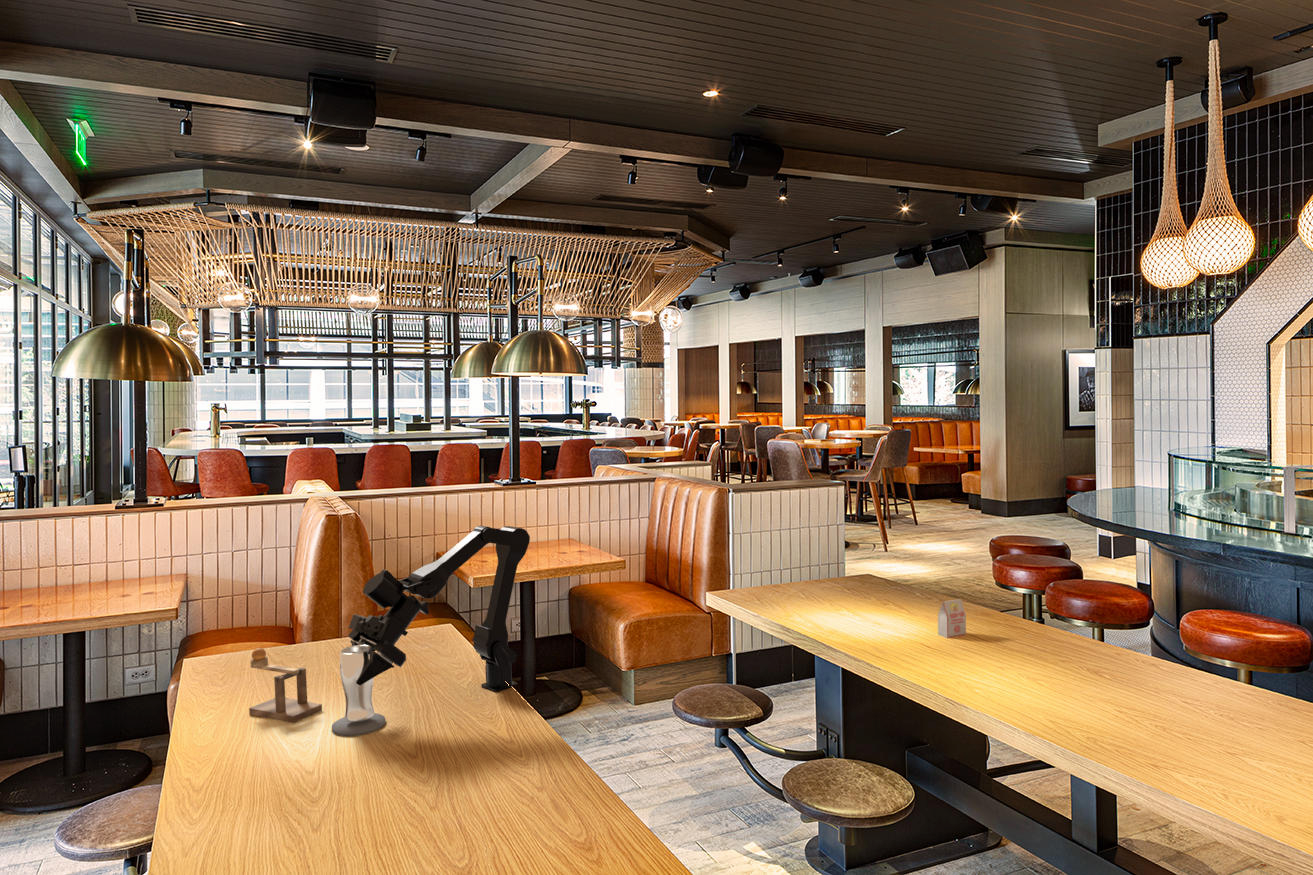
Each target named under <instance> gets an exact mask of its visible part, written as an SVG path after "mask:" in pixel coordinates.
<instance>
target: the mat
mask: <svg viewBox="0 0 1313 875" xmlns="http://www.w3.org/2000/svg"><path fill="white" fill-rule="evenodd" d="M385 725H386V717H385V715H383V714H380V713H376V712H374V716H373V717H372V718H370V719H368V720H365V721H361V722H348V721H346V720H345V716H344V717H341V718H339V719H337V720H336V721H334V722H333V723H332V725H331V732H332V734H334V735H337V736H341V737H342V736H343V737H356V736H357V737H358V736H362V735H367V734H371V733H374V732H376V731H378V730H380V729H382V728H383V727H384V726H385Z"/></svg>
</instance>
